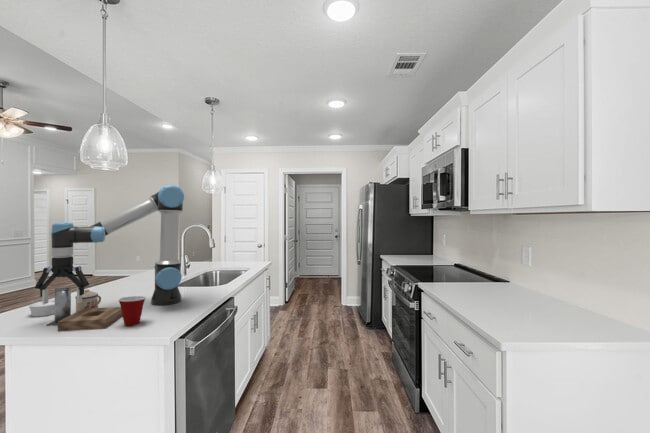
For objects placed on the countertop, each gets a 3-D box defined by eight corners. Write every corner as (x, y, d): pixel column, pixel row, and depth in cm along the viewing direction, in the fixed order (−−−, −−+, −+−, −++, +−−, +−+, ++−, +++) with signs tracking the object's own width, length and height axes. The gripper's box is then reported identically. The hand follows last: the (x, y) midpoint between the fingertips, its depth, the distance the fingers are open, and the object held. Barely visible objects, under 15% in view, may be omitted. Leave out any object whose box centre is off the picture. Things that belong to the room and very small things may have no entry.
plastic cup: (151, 320, 143) (151, 294, 143) (135, 328, 132) (135, 300, 132) (129, 319, 144) (129, 293, 144) (112, 327, 133) (111, 300, 133)
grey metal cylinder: (73, 318, 143) (73, 286, 143) (65, 322, 138) (66, 289, 138) (59, 319, 142) (59, 286, 142) (51, 323, 137) (51, 289, 137)
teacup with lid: (85, 316, 148) (85, 292, 148) (70, 315, 149) (70, 291, 149) (107, 309, 159) (107, 286, 159) (93, 307, 161) (93, 285, 161)
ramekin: (65, 311, 155) (65, 301, 155) (40, 318, 145) (40, 307, 145) (49, 309, 158) (49, 299, 158) (23, 316, 148) (23, 305, 148)
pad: (77, 318, 145) (77, 317, 145) (67, 324, 137) (67, 323, 137) (58, 319, 143) (58, 318, 143) (46, 325, 135) (46, 324, 135)
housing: (124, 314, 150) (124, 306, 150) (105, 328, 133) (105, 319, 133) (82, 317, 147) (82, 308, 147) (57, 331, 129) (57, 321, 129)
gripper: (97, 254, 146) (97, 299, 146) (36, 256, 141) (36, 302, 141) (88, 257, 138) (88, 303, 139) (24, 258, 134) (24, 306, 134)
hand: (62, 303), depth 140 cm, fingers open, 13 cm apart
